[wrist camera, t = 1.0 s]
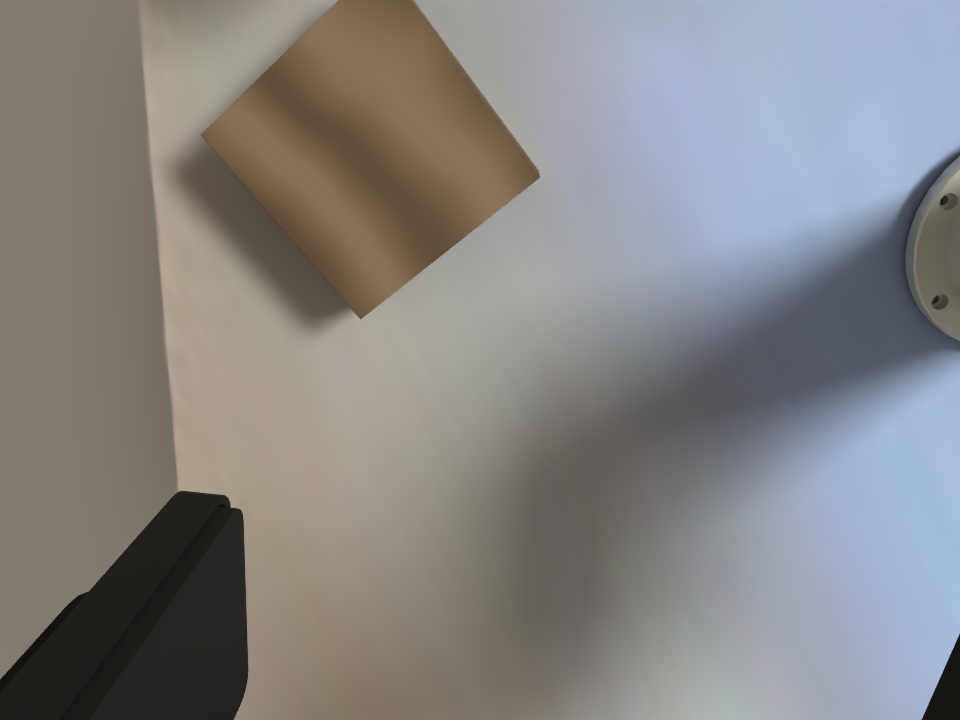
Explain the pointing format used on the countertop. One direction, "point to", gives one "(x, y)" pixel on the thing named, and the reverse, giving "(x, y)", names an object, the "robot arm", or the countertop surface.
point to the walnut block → (371, 148)
